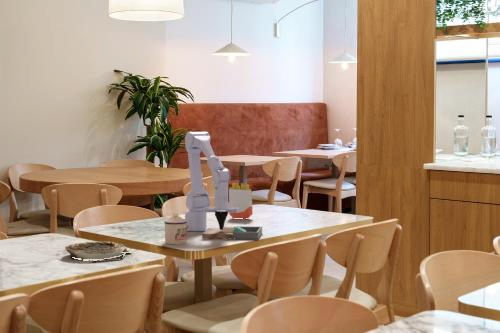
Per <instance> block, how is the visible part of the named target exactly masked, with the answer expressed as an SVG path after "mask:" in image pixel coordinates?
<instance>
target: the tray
mask: <svg viewBox="0 0 500 333" xmlns="http://www.w3.org/2000/svg"><path fill="white" fill-rule="evenodd" d="M238 226H239V225H238ZM239 227H241V228H242V229H244V230H246V232H233V239H232V240H259V239H260V238H261V236H262V234H263V226H244V225H243V226H239ZM234 238H235V239H234Z"/></svg>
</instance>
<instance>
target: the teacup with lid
mask: <svg viewBox="0 0 500 333" xmlns="http://www.w3.org/2000/svg"><path fill="white" fill-rule="evenodd" d="M163 223H164V243H165V244H166V245H185V244H186V243H187V233H188V232H189V231H188V225H187V224H186V223H187V221H186V220H185V218H183V217H181V216H179V214H177V213H174V214H173V215H172V216H171V217H169V218H168V219H165V220H164V222H163Z"/></svg>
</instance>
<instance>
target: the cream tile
mask: <svg viewBox="0 0 500 333" xmlns="http://www.w3.org/2000/svg"><path fill="white" fill-rule="evenodd" d="M235 227H236V226H235V225H224V227H223V232H234V229H235Z"/></svg>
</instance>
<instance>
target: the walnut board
mask: <svg viewBox="0 0 500 333" xmlns="http://www.w3.org/2000/svg"><path fill="white" fill-rule="evenodd" d="M208 228H209V229H207V230H206V231H203V232H202V233H201V239H202V238H228V239H227V240H234V239H233V232H223V230H220V227H218V228H215V227H213V228H212V227H208ZM229 238H231V239H229Z"/></svg>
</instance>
